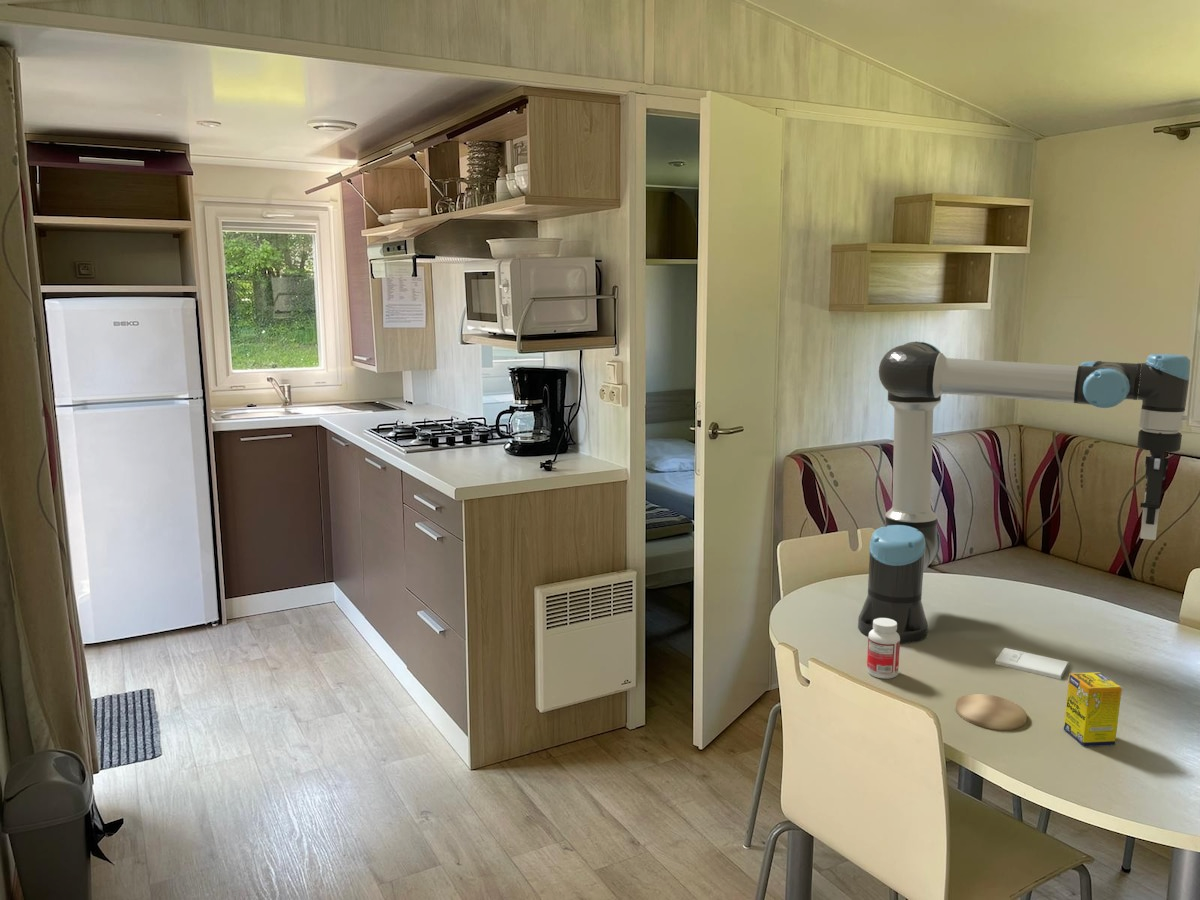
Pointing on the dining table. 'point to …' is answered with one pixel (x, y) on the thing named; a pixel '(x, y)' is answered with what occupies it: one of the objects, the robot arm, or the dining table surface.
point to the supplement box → (1092, 709)
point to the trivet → (991, 712)
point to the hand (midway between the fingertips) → (1148, 531)
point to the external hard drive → (1032, 663)
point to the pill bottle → (883, 649)
